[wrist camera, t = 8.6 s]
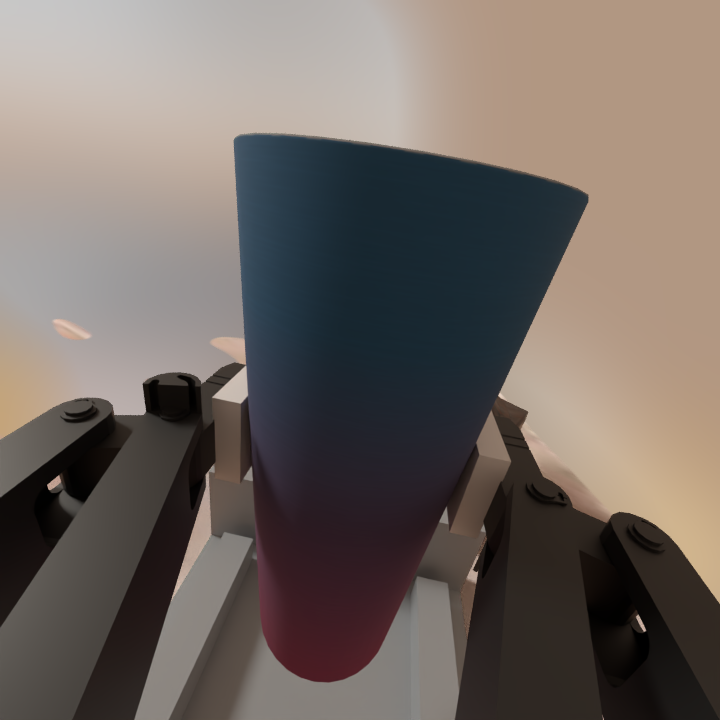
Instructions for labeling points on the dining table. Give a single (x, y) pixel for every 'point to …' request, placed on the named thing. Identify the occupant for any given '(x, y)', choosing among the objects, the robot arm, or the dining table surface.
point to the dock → (260, 667)
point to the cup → (373, 364)
